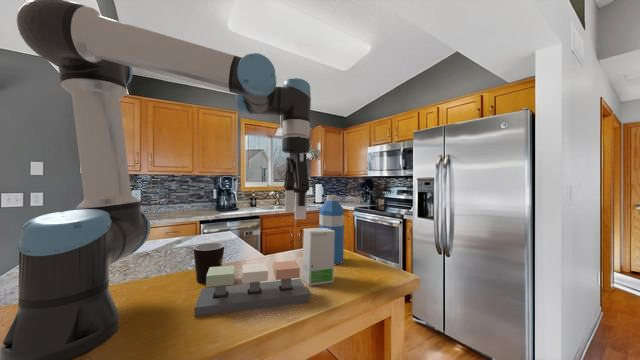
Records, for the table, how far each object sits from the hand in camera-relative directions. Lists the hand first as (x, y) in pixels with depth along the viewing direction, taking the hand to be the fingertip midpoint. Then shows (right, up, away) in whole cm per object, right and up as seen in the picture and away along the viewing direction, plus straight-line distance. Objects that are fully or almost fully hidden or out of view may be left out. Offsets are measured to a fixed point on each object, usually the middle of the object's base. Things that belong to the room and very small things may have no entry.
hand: (294, 215), depth 68 cm
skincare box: (+6, -21, +8) cm, 23 cm away
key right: (-2, -18, -3) cm, 19 cm away
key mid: (-10, -18, -5) cm, 21 cm away
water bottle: (+11, -21, +26) cm, 35 cm away
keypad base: (-10, -21, -5) cm, 23 cm away
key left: (-17, -18, -7) cm, 26 cm away
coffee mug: (-26, -21, +8) cm, 34 cm away
